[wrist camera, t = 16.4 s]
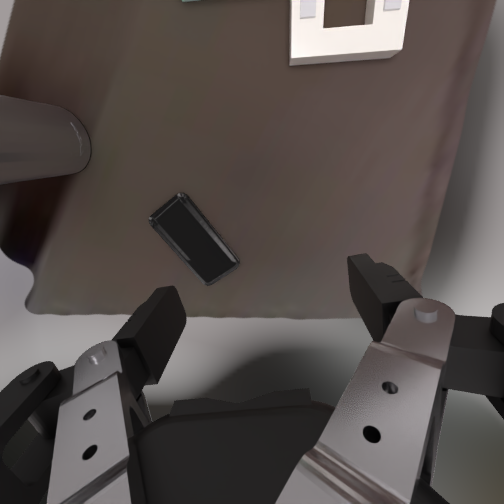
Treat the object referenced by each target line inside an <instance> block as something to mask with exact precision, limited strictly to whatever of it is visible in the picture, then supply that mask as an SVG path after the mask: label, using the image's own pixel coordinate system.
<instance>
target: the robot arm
mask: <svg viewBox="0 0 504 504" xmlns="http://www.w3.org/2000/svg"><path fill="white" fill-rule="evenodd" d="M90 154H91V146H90V140H89V137H88V134H87V132H86V130H85V128H84V126H83V125H82V124H81V122H80V121H79V120H78V119H77V118H76V117H75V116H74V115H73V114H72V113H71V112H69V111H68V110H66V109H64V108H62V107H59V106H55V105H50V104H45V103H39V102H34V101H29V100H24V99H18V98H13V97H7V96H2V95H0V184H6V183H13V182H20V181H27V180H34V179H41V178H48V177H55V176H62V175H69V174H74V173H78V172H79V171H81V170H83V169H84V167H85V166H86V165H87V163H88V161H89V159H90ZM347 263H348V274H349V285H350V292H351V297H352V300H353V302H354V304H355V306H356V308H357V310H358V312H359V314H360V316H361V318H362V319H363V321H364V323H365V325H366V327H367V329H368V331H369V333H370V335H371V337H372V338H373V341H372V342H371V343H370V345H369V346H368V348H367V350H366V352H365V354H364V356H363V358H362V360H361V362H360V364H359V365H358V367H357V369H356V371H355V373H354V375H353V377H352V378H351V380H350V382H349V384H348V386H347V388H346V390H345V391H344V393H343V396H342V397H341V399H340V401H339V403H338V405H337V406H336V407H333V406H331V405H328V404H326V403H322V402H319V401H313V400H311V395H310V390H309V388H305V389H295V390H284V391H274V392H271V393H268V394H265V395H262V396H259V397H256V398H253V399H250V400H247V401H244V402H241V403H232V402H226V401H221V400H215V399H209V398H199V399H189V400H178V401H174V404H173V407H172V410H171V412H170V414H167V415H165V416H163V417H161V418H159V419H157V420H156V421H154V422H152V419H151V416H150V412H149V408H148V405H147V401H146V397H145V395H144V393H143V391H142V389H143V387H144V385H153V384H158V382H159V380H160V378H161V376H162V374H163V371H164V369H165V367H166V365H167V363H168V361H169V359H170V357H171V355H172V352H173V351H174V348H175V346H176V344H177V342H178V340H179V338H180V336H181V334H182V332H183V329H184V327H185V325H186V313H185V310H184V307H183V305H182V302H181V300H180V297H179V294H178V292H177V290H176V288H175V287H174V286H167V287H161V288H157V289H156V290H155V291H154V292H153V294H152V295H151V296H150V297H149V299H148V300H147V301H146V302H144V303H143V304H142V305H140V306H139V307H138V308H137V310H136V311H135V312H134V313H133V316H131V317H130V318H129V319H128V322H126V323H125V324H124V325H123V327H122V328H121V329H120V330H119V332H118V333H117V334H116V335H115V336H114V338H113V339H112V340H111V341H104V342H101V343H99V344H96V345H95V346H93V347H91V348H89V349H88V350H87V351H85V352H84V353H83V354H82V355H81V356H80V357H79V358H78V360H77V361H76V363H75V365H74V366H71V367H68V368H66V369H63V370H60V371H59V370H58V369H57V367H56V366H55V364H54V363H53V362H51V361H46V362H42V363H39V364H37V365H34V366H32V367H30V368H29V369H27V370H25V371H24V372H22V373H21V374H19V375H18V376H17V377H16V378H15V379H13V380H12V381H11V382H10V383H9V384H8V385H7V386H6V387H5V388H4V389H3V390H2V391H1V392H0V504H39V503H40V502H41V500H42V498H43V497H44V495H45V493H46V492H47V490H48V489H49V491H48V498H47V504H450V503H448V502H447V501H446V500H445V499H444V498H443V497H442V496H441V495H439V494H438V493H437V492H436V491H435V490H434V489H433V488H432V481H433V476H434V470H435V464H436V456H437V449H438V443H439V437H440V431H441V427H442V422H443V416H444V411H445V406H446V400H447V395H448V390H449V389H452V390H458V391H464V392H470V393H475V394H482V395H485V396H486V397H487V398H488V400H489V401H490V402H491V404H492V405H493V406H494V407H495V409H496V410H497V411H498V413H499V414H500V415H501V416H502V418H503V419H504V303H502V304H498V305H497V306H495V307H494V308H493V309H492V315H491V317H476V316H462V315H456V314H455V313H454V311H453V310H452V309H451V308H450V307H449V306H447V305H446V304H444V303H441V302H439V301H436V300H432V299H427V298H423V297H422V296H421V295H420V294H419V293H418V292H417V291H416V290H415V289H414V288H413V287H412V286H411V285H410V284H409V283H408V282H407V281H405V279H404V278H403V277H402V276H401V275H400V274H399V273H398V272H397V271H396V270H395V269H394V268H393V267H392V266H389V265H387V264H385V263H382V262H381V263H375V262H374V261H373V260H372V259H371V258H370V257H369V256H368V254H366V253H365V254H360V255H354V256H348V258H347ZM27 419H28V420H29V421H30V422H31V424H32V425H33V426H34V427H35V428H36V430H37V431H38V432H39V433H38V435H37V436H36V437H35V438H34V440H33V441H32V442H31V444H30V445H29V446H28V448H27V449H26V450H25V452H24V453H23V454H22V456H21V457H20V458H19V459H18V461H17V462H16V463H15V465H14V466H13V467H12V469H11V470H10V469H9V468H8V467H7V466H6V465H5V464H4V462H3V459H2V455H3V451H4V448H5V446H6V445H7V443H8V442H9V440H10V439H11V438H12V437H13V436H14V434H15V433H16V432H17V431H18V430H19V429H20V427H21V426H22V425H23V424H24V422H25V421H26V420H27Z"/></svg>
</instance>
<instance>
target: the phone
mask: <svg viewBox="0 0 504 504" xmlns="http://www.w3.org/2000/svg"><path fill="white" fill-rule="evenodd" d="M149 223H150V225H151V226H152V227H153V228H154V230H155V231H156V232H157V233H158V234H159V235H160V236H161V237H162V239H163V240H164V241H165V242H166V243H167V244H168V245H169V246H170V247H171V249H172V250H173V251H174V252H175V253H176V254H177V255H178V256H179V258H180V259H181V260H182V261H183V262H184V263H185V264H186V265H187V267H188V268H189V269H190V270H191V271H192V272H193V273H194V274H195V275H196V277H197V278H198V279H199V280H200V281H201V282H202V283H203V284H204V285H207V286H209V285H212V284H214V283H215V282H217V281H218V280H220V279H221V278H223V277H224V276H226V275H227V274H229V273H231V272H232V271H234V270H235V269H237V268H238V266H239V263H240V261H239V259H238V257H237V256H236V255H235V254H234V252H233V251H232V250H231V249H230V247H229V246H228V245H227V244H226V242H225V241H224V240H223V239H222V237H221V236H220V235H219V234H218V232H217V231H216V230H215V229H214V227H213V226H212V225H211V224H210V223H209V221H208V220H207V219H206V218H205V216H204V215H203V214H202V213H201V211H200V210H199V209H198V208H197V206H196V205H195V204H194V203H193V201H192V200H191V199H190V198H189V197H188V195H186V194H185V193H179V194H177V195H175V196H174V197H173V198H172V199H170V200H169V201H168V202H167V203H166V204H164V205H163V206H162V207H161V208H159V209H158V210H157V211H156V212H155V213H153V214H152V215H151V216H150V217H149Z"/></svg>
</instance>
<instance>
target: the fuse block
mask: <svg viewBox="0 0 504 504" xmlns="http://www.w3.org/2000/svg"><path fill="white" fill-rule="evenodd" d="M408 5H409V0H367V4H366V14H365V24H364V25H359V26H347V27H336V28H325V29H323V19H324V0H290V50H289V66H292V65H305V64H318V63H331V62H344V61H357V60H370V59H383V58H391V57H392V56H394V55H395V54H396V53H398V52H399V51H400V50H402V46H403V39H404V32H405V26H406V19H407V12H408Z"/></svg>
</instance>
